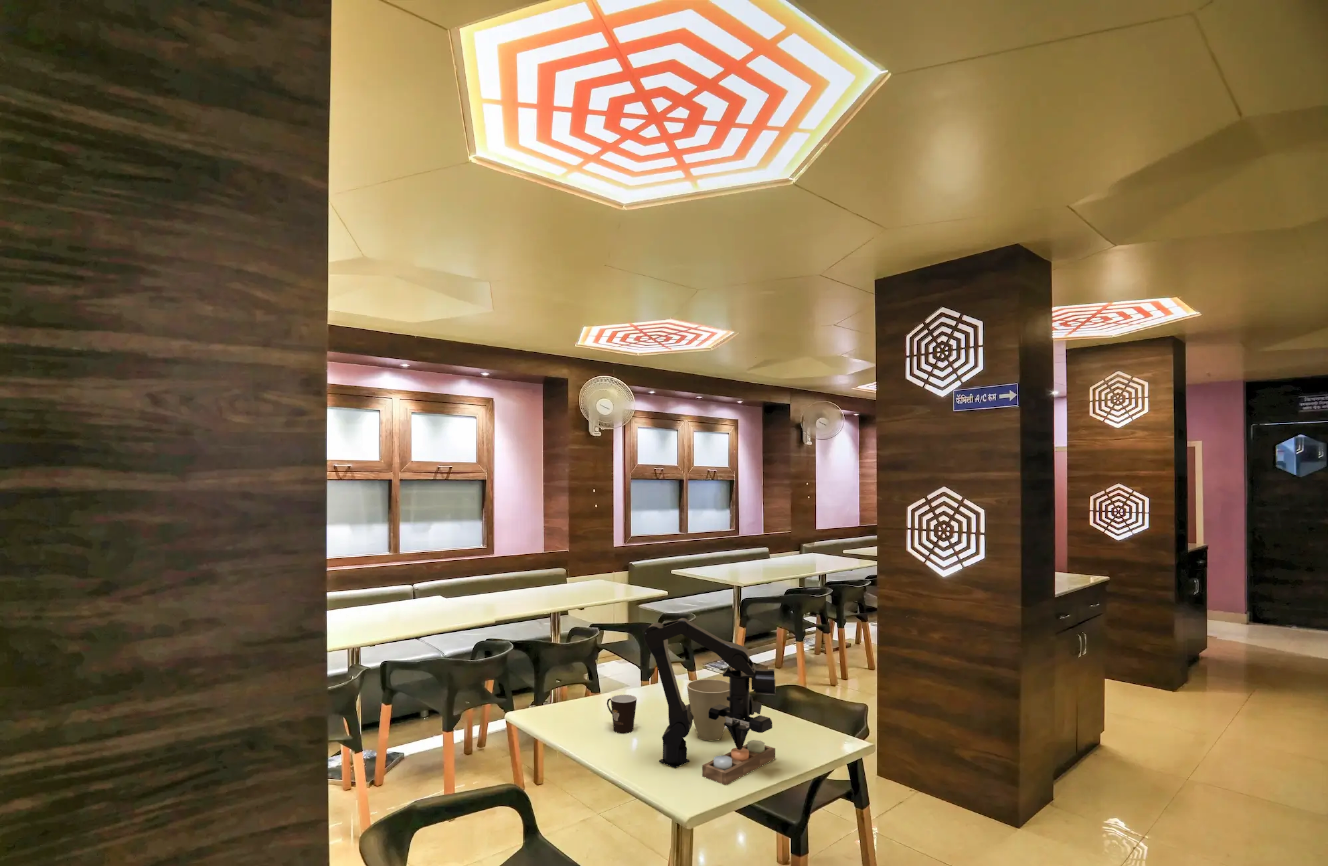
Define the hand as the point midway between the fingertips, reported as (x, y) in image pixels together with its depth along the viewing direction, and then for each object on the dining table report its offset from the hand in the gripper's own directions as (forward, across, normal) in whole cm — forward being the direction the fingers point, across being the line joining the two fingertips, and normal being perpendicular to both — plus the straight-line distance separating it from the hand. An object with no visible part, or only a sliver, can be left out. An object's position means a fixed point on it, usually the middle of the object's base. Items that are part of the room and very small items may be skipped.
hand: (739, 749), depth 185 cm
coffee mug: (+5, +47, +1) cm, 47 cm away
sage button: (+3, 0, -8) cm, 9 cm away
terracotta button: (+3, 0, 0) cm, 3 cm away
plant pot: (+5, +21, -13) cm, 25 cm away
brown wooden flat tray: (+5, 0, 0) cm, 5 cm away
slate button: (+3, 0, +8) cm, 9 cm away
